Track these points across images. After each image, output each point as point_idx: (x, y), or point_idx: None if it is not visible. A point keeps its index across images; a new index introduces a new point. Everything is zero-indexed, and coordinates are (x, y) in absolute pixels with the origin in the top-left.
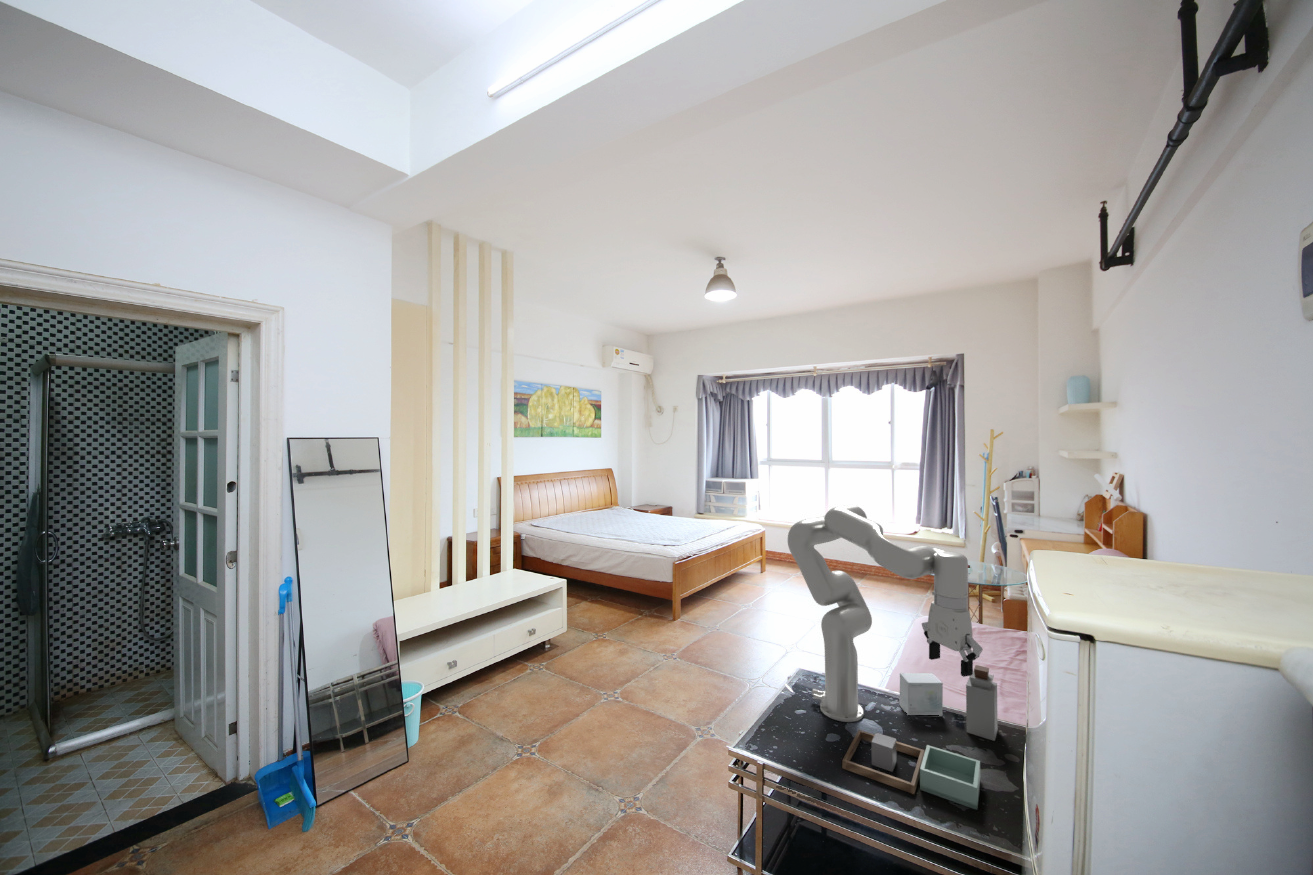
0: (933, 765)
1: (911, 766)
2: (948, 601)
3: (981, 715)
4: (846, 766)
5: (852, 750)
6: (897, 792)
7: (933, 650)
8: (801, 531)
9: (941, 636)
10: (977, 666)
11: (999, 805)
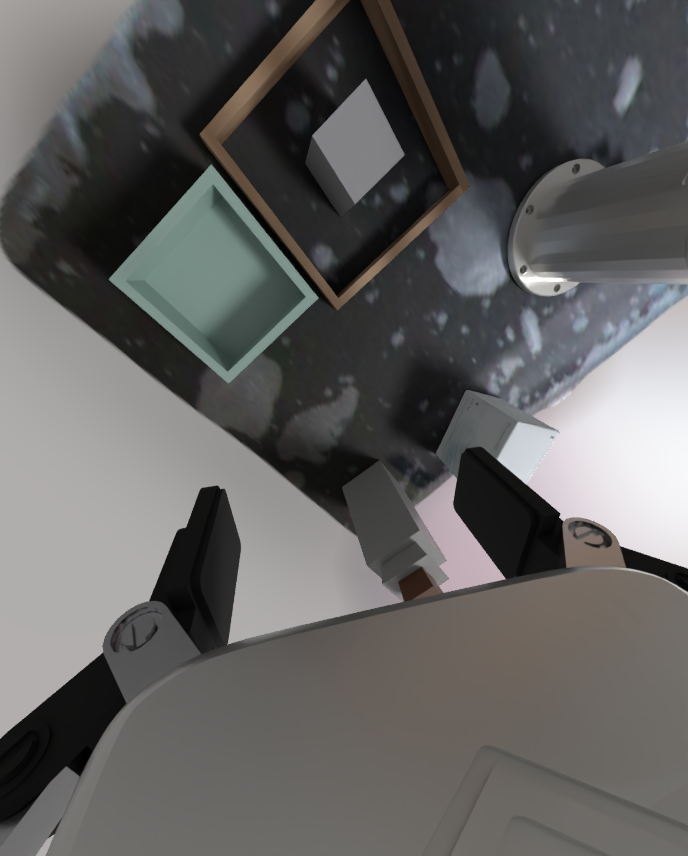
0: (291, 295)
1: (313, 244)
2: None
3: (370, 502)
4: None
5: (405, 74)
6: (218, 89)
7: (497, 503)
8: None
9: (505, 774)
10: None
11: (151, 346)
